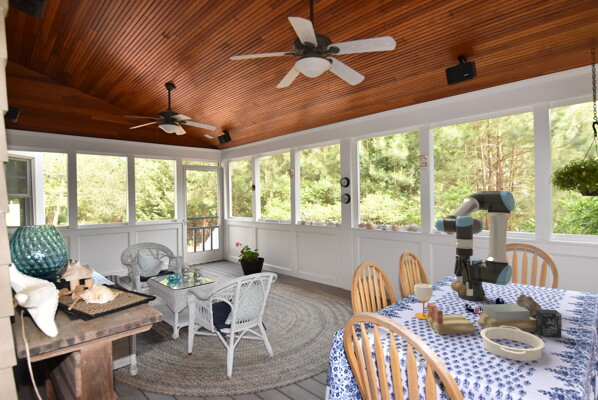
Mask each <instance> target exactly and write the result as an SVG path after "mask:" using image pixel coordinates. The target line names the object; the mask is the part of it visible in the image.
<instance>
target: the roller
mask: <svg viewBox="0 0 598 400" xmlns="http://www.w3.org/2000/svg"><path fill="white" fill-rule="evenodd" d="M450 289H452V291H455V292H456V293H457V294H458V293H459V294H461V295H463V296H467V295H466V285H464V284H462V283H460V282H458V281H456V280H452V281H451V283H450Z"/></svg>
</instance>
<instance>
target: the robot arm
mask: <svg viewBox="0 0 598 400" xmlns="http://www.w3.org/2000/svg"><path fill="white" fill-rule="evenodd" d="M515 203H516V202H515V197H514V195H513V193H512V192H511V191H509V190H479V191H477V192H475V193H471V194H469V195H468V196H467V197H466V198H464V199H463V200H462V203H461V204H460V205H459V206H458V207H456V208H455V209H454V210H453V211H452V212H451V213H450V214H449V215H447V216H446V217H439V218H437V219H436V221H435V222H436V223H435V227H436V230H437V231H438V232H443V233H453V234H454V233H455V237H456V238H455V241H454V242H455V246H456V247H455V251H456V252H455V255H456V256H455V264H454V272H453V273H454V275H455V277H456V280H455V281H458V282H460V283H462V284H464V285H466V295H467V296H463V295H461V294H459V293H458V292H457V297H458V298H460V299H463V300H465V301H466V300H468V301H473V302H474V301H476V302H477V301H485V300H486V299H487V295H486V291H485V289H484V287H483V283H486V284H493V285H496V286H507V285H508V284H509V283H510V282H511V279H512V275H513V268H512V267H513V266H511V265H510V264H509V261H508V259H507V258H506V257H507V254H506V253H507V233H508V232H507V230H508V217H510V215H511V212H513V211H514V210H515V207H516V204H515ZM478 211H487V214H488V215H489V233H488V234H489V237H488V239H489V241H488V257H487V258H485V259H484V260H485V261H483V259H482V258H471V257H472V256H474V249H473V247H474V240H473V239H474V235H477V234H479V233H481V232H483V230H484V224H483V222H482V220H480V219H477V218H473V217H472V216H470V215H472V214H473V213H476V212H478Z"/></svg>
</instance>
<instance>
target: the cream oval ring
mask: <svg viewBox="0 0 598 400" xmlns="http://www.w3.org/2000/svg"><path fill="white" fill-rule="evenodd" d="M505 327H511V328H505ZM512 328H515V329H512ZM517 329H518V330H517ZM480 336H481V338H482V345H483V348H485V350H487V351H488V352H490V353H492V354H494V355H495V356H498V357H501V358H504V359H505V358H506V359H510V360H515V361H522V362H531V361H532V362H533V361H537V360H539V359H541V358H542V356H543V355H542V353H543V352H542V349H544V348H545V346H546V345H545V341H543V339H542V338H540V337H539V336H537V335H534V334H532V333H530V332H529V331H521V330H520V329H519V328H516V327H512V326H505V325H501V326H499V327H490V328H485V329H484V328H483V329H481V330H480ZM496 339H497V340H498V339H500V340H501V339H502V340H510V341H516V342H519V343H522V344H525V345H527V346H530V347H532V348H518V347H517V348H516V347H512V346H507V345H503V344H500V343H497V342H494V341H492V340H496Z"/></svg>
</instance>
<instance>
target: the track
mask: <svg viewBox="0 0 598 400" xmlns="http://www.w3.org/2000/svg"><path fill="white" fill-rule="evenodd" d="M427 314H428V320H427V325H429V327H431V328H432V330H433V331H435V332H436V334H438V335H446V334H447V335H449V334H451V335H452V334H453V335H454V334H455V335H456V334H474V332H476V328H477V327H476V326H474V323H473V322H471V321H470V320H469V319H468V318H466V317H465V316H463V315H462V314H461V313H452V314H451V313H450V314H446V313H445V314H444V311H443V310H442V309H440V308H439V307H438V306H437V305H435V304H434V303H433V302H427ZM477 325H478V326H480V327H481V328H483V329H485V328H490V327H499V326H501V325H505V326H512V327H516V328H519V329H520V330H521V331H524V332H536V318H534V317H533V316H532V317H530V320H500V321H495V320H494V319H492V318H491V317H489V316H487V315H486V314H484V313H483V311H482V312H481V311H480V312H479V320H477ZM505 328H511V327H505ZM512 329H515V328H512ZM517 330H518V329H517Z"/></svg>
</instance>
